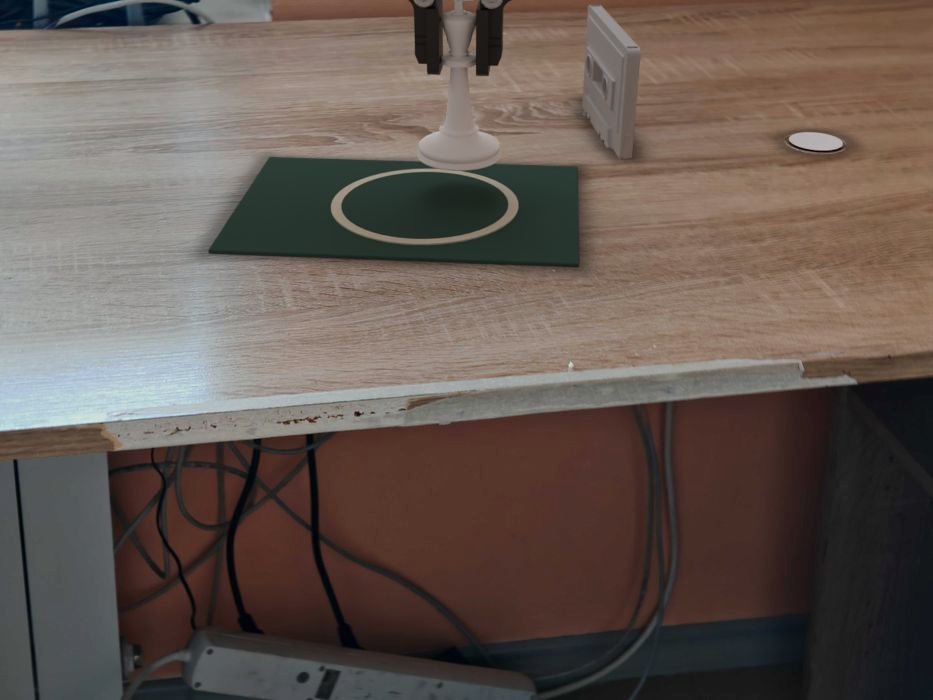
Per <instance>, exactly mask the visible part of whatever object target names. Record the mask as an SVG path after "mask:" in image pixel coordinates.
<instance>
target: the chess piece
mask: <svg viewBox="0 0 933 700" xmlns="http://www.w3.org/2000/svg"><path fill="white" fill-rule="evenodd" d="M453 1H454V2H453V4H454V9H452V10H450V11H447V12H445V13H443V15H442V16H441V23H442V26H443V32H444V34H445V37H446V41H447V45H448V47H449V51H448V52H447V53H443V56H442V57H441V64H442V65H443V66H444V67H447V68H450V73H449V86H448V93H447V103H446V112H445V118H444V123H443V124H442V125H440V126H439V128H438V130H439V131H434V132H431V133H429V134H427V135H425V136H424V137H422V138H421V139H420V140H419V142H418V144H417V145H418V151H417V152H416V153H417V154H416V157H417V159H418V161H419V162H422V163H424V164H426V165H428V166H430V167H433V168H437V169H443V170H451V171H467V170H476V169H481V168H485V167H488V166H491V165H493V164H497V163H498V162H499V161H500V160H501V158H502V152H501V143H500V141H499V140H498V139H497V138H496V137H495V136H493V135H491V134H489V133H487V132H484V131H481V130H480V127H479V125H477V124H475V122H474V117H473V116H474V115H473V109H472V101H471V92H470V84H469V83H470V81H469V71H468V70H469V69H468V68H471V67H474V66H476V54H474V53H471V52H470V51H469V48H470V45H471V43H472V38H473V34H474V31H475V30H476V13H473V12H472V11H468V10H466V9H464V4H465V3H464V2H475V0H453Z"/></svg>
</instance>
